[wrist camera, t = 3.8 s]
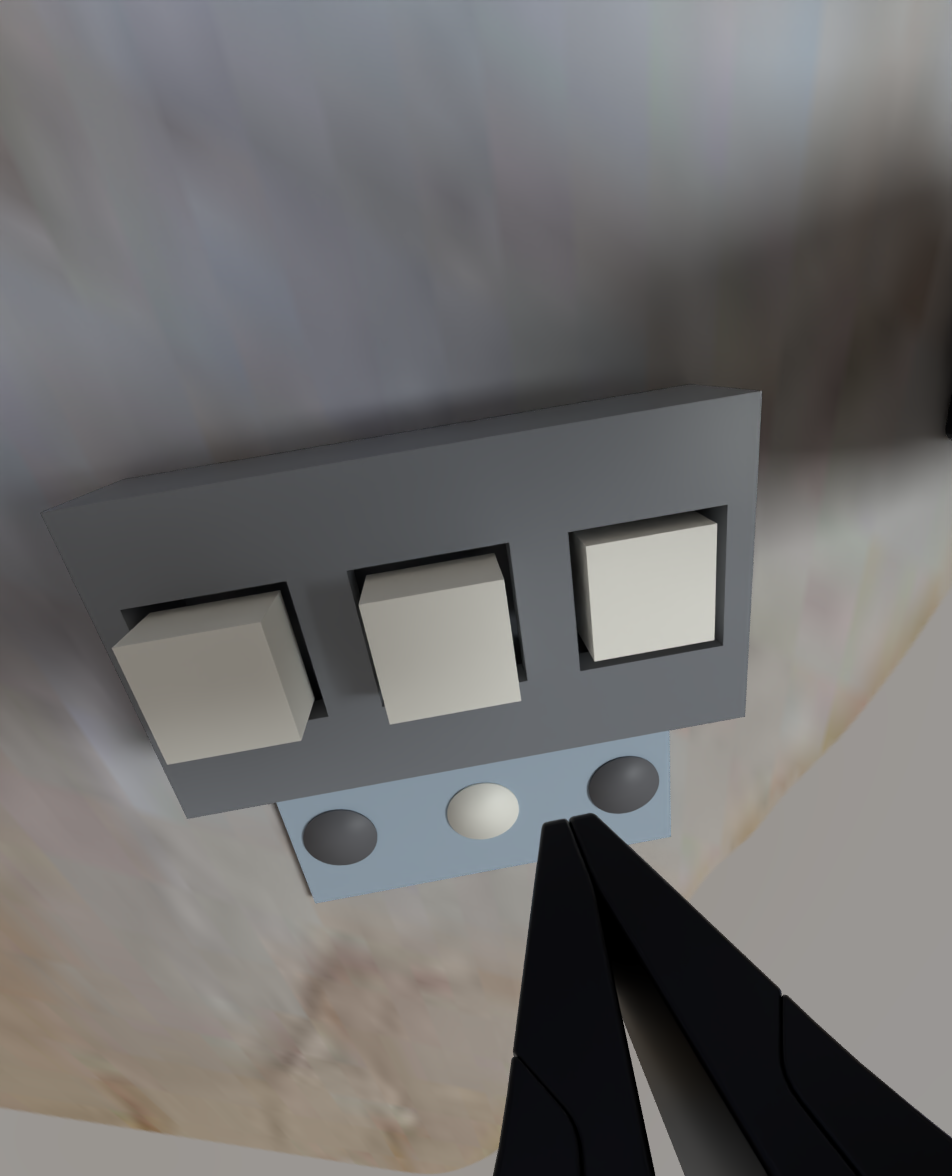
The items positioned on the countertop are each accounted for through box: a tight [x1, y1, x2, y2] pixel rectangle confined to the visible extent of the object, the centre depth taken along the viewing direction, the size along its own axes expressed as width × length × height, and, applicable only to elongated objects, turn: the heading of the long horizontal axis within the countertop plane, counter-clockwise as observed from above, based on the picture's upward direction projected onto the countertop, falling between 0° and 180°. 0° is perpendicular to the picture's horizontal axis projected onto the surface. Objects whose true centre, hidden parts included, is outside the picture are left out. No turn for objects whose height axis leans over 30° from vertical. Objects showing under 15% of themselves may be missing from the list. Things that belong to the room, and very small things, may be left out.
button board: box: [41, 384, 762, 819], centre depth 17 cm, size 18×10×4 cm, turn 99°
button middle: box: [359, 553, 521, 725], centre depth 15 cm, size 4×4×2 cm
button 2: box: [568, 510, 717, 661], centre depth 16 cm, size 4×4×2 cm
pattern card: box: [276, 731, 671, 903], centre depth 23 cm, size 16×7×1 cm, turn 99°
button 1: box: [112, 590, 315, 765], centre depth 15 cm, size 4×4×2 cm
